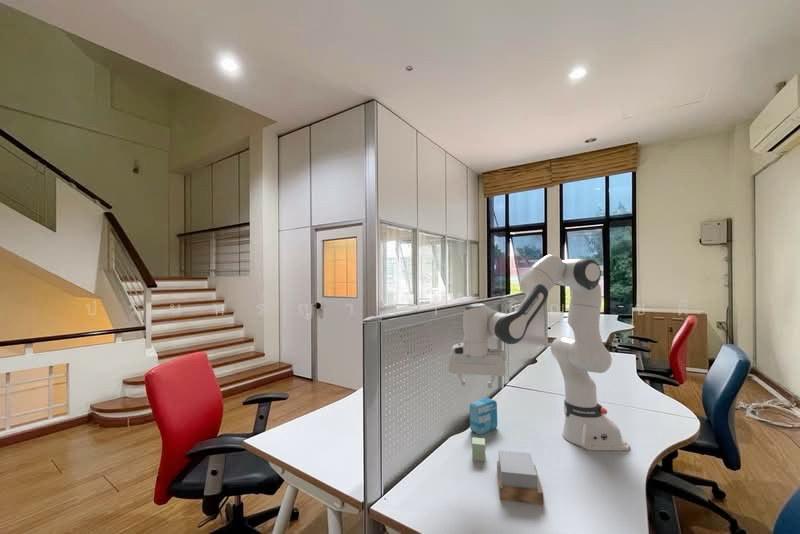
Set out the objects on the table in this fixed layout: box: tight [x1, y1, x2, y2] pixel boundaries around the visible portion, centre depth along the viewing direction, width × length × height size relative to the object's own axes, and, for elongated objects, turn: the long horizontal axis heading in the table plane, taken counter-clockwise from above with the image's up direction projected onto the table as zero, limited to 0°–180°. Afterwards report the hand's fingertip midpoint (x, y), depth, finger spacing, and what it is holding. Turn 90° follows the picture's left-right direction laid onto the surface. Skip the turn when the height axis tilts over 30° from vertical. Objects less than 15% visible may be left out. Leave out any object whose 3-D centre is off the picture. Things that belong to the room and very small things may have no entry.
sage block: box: [471, 437, 486, 463], centre depth 118 cm, size 4×4×6 cm
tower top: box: [498, 449, 538, 489], centre depth 101 cm, size 10×12×4 cm
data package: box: [469, 397, 498, 435], centre depth 139 cm, size 12×4×12 cm, turn 122°
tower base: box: [496, 460, 545, 506], centre depth 101 cm, size 12×14×4 cm
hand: (476, 386), depth 118 cm, fingers open, 8 cm apart
